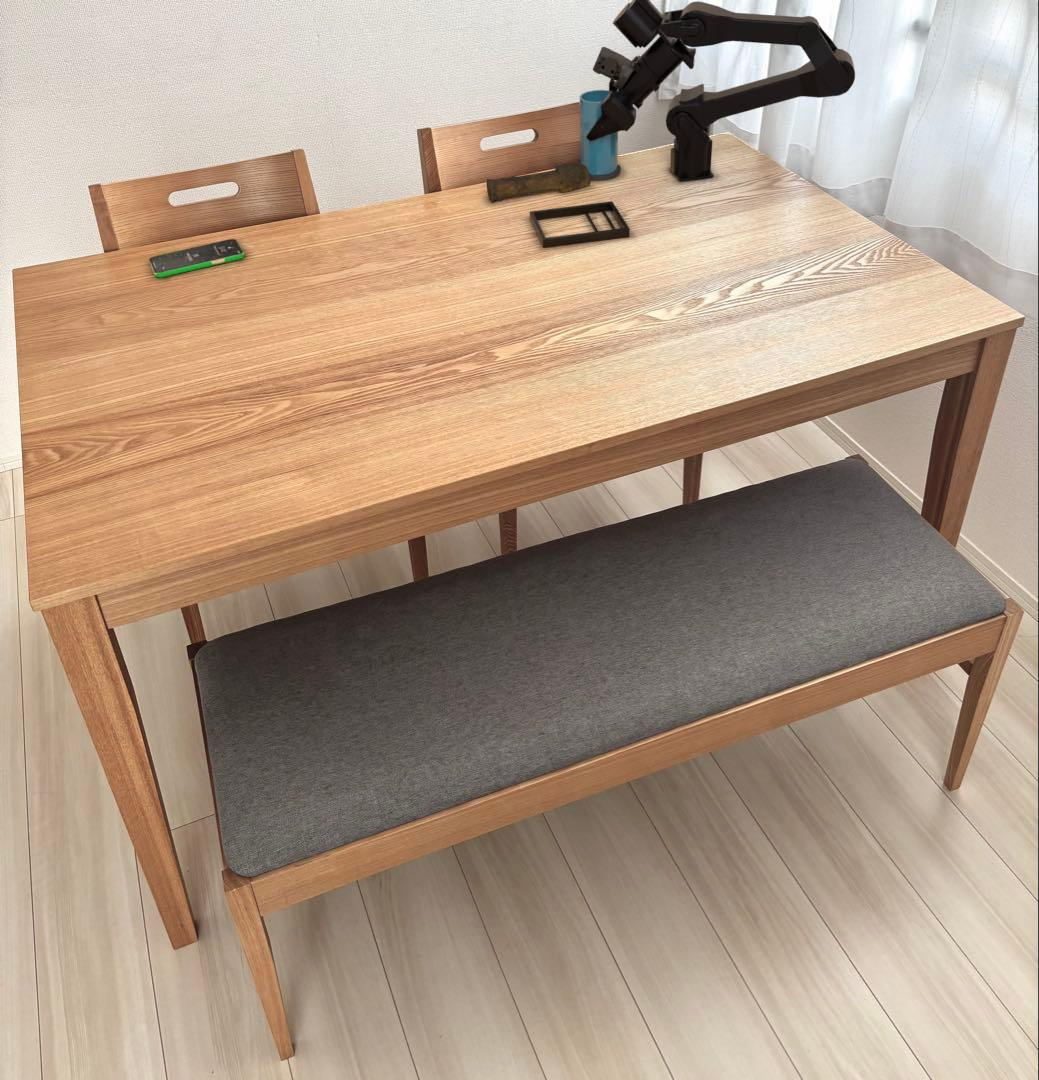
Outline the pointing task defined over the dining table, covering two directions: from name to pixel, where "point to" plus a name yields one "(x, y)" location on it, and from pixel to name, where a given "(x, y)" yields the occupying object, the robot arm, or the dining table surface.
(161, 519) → the dining table surface
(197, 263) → the smartphone
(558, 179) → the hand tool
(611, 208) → the black rectangular frame
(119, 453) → the dining table surface
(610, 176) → the trivet
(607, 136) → the cup
